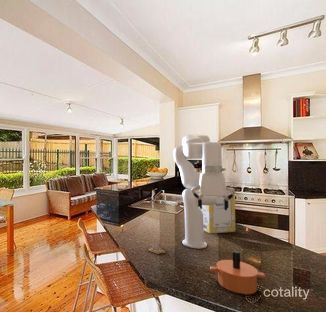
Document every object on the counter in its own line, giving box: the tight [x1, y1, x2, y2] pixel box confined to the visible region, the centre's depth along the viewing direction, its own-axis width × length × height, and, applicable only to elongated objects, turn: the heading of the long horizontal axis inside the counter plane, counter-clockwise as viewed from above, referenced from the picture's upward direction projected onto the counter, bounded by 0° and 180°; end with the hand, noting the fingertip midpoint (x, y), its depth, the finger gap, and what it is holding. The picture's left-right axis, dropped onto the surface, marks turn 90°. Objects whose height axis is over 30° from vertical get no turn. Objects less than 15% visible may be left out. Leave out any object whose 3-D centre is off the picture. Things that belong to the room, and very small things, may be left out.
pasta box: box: [199, 186, 236, 234], centre depth 154 cm, size 18×10×28 cm, turn 98°
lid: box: [216, 250, 259, 278], centre depth 88 cm, size 13×13×7 cm
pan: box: [209, 265, 267, 295], centre depth 88 cm, size 12×18×6 cm
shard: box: [148, 243, 166, 255], centre depth 122 cm, size 11×8×2 cm
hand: (212, 209), depth 102 cm, fingers open, 9 cm apart
